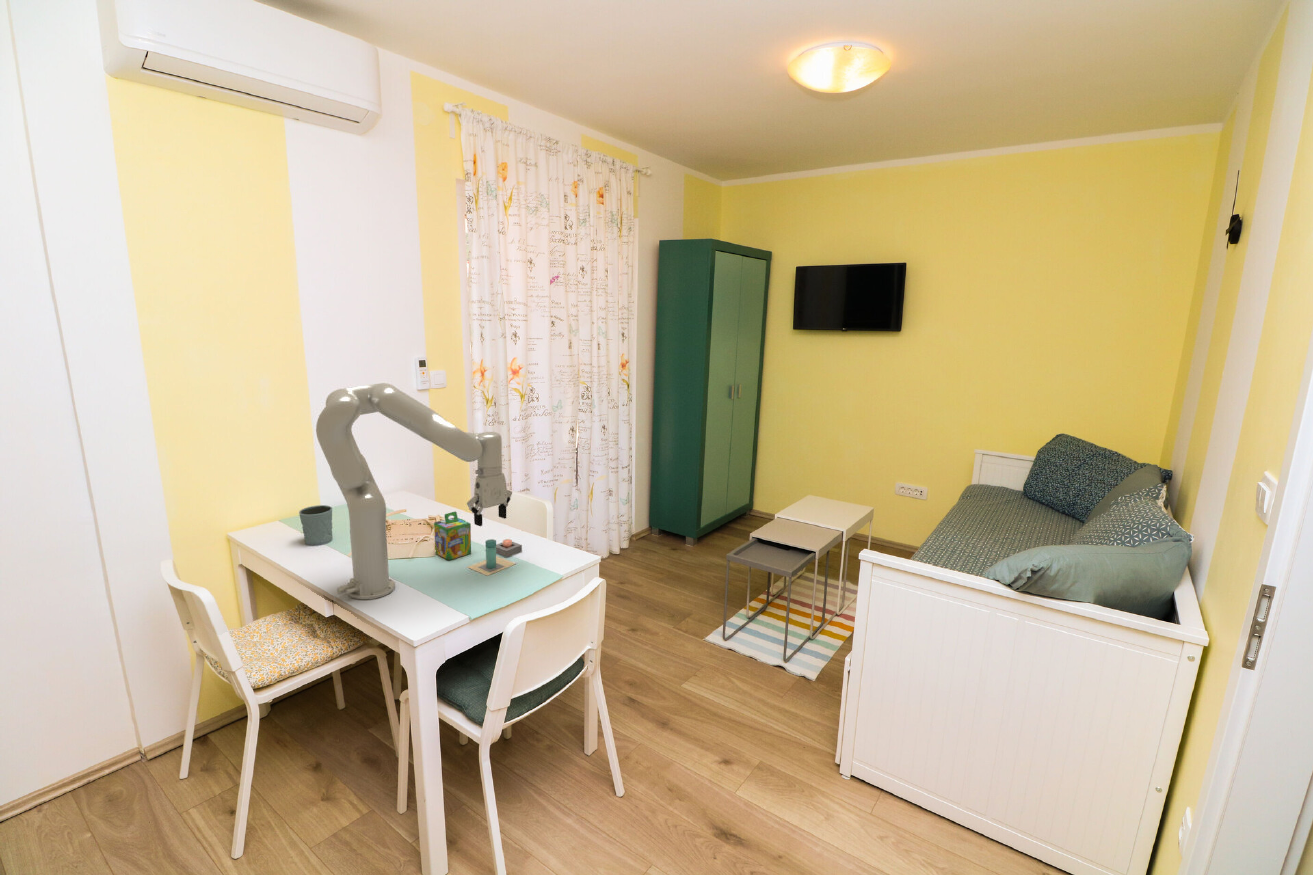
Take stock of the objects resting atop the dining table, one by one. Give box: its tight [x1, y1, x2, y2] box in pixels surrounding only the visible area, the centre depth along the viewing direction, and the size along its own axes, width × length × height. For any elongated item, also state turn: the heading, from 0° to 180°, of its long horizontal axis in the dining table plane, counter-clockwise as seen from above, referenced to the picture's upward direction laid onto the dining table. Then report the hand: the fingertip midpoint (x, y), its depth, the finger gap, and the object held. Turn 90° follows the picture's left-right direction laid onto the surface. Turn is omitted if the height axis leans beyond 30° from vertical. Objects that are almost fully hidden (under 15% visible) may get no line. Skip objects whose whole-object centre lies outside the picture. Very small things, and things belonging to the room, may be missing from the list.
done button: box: [502, 538, 513, 548], centre depth 207 cm, size 3×3×3 cm
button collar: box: [496, 541, 523, 559], centre depth 207 cm, size 7×7×2 cm
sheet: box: [466, 555, 516, 577], centre depth 196 cm, size 12×10×1 cm
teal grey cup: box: [298, 504, 333, 547], centre depth 209 cm, size 10×10×12 cm
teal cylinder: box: [484, 539, 497, 569], centre depth 193 cm, size 3×3×9 cm
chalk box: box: [433, 511, 472, 561], centre depth 203 cm, size 9×9×15 cm
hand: (490, 521), depth 191 cm, fingers open, 9 cm apart
